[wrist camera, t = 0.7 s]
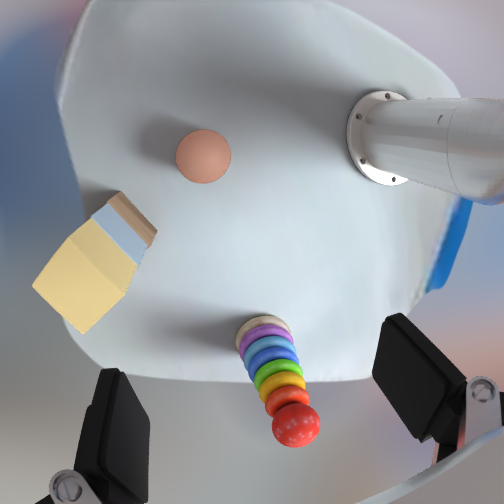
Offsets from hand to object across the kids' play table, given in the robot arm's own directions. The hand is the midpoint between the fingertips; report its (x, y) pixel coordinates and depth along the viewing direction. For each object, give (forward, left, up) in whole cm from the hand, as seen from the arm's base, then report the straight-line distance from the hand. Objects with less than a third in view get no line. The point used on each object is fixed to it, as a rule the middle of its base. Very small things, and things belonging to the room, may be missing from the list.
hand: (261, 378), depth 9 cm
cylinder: (-3, -6, -26) cm, 27 cm away
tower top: (+10, -6, -16) cm, 20 cm away
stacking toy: (+7, +18, -26) cm, 33 cm away
